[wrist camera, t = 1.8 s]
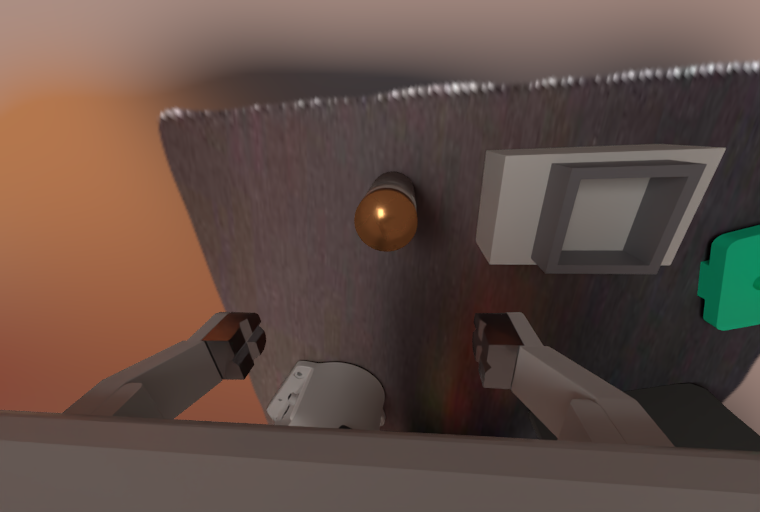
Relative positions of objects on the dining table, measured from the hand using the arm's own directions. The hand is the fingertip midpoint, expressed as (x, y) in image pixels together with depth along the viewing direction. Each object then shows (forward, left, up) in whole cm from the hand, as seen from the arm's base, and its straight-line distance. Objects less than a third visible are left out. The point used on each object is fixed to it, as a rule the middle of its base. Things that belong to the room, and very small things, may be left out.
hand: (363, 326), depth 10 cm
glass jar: (0, 0, -22) cm, 22 cm away
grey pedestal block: (+12, -13, -22) cm, 28 cm away
